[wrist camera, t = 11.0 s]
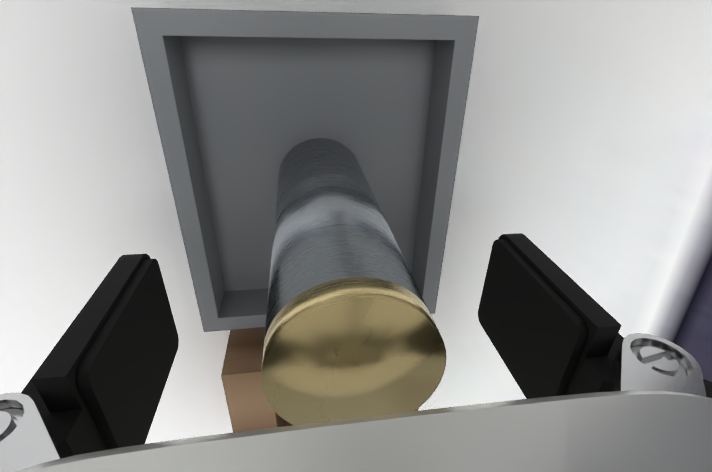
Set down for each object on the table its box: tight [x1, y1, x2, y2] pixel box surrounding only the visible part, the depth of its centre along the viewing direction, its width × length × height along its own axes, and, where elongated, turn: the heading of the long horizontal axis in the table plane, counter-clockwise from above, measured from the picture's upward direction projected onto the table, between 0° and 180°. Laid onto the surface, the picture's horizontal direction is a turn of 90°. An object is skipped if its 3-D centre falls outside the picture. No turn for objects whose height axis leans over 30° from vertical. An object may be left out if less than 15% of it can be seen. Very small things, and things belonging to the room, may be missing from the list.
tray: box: [131, 8, 479, 332], centre depth 18 cm, size 14×12×3 cm
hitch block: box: [221, 327, 418, 433], centre depth 24 cm, size 10×10×5 cm
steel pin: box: [261, 138, 446, 425], centre depth 14 cm, size 4×4×12 cm
